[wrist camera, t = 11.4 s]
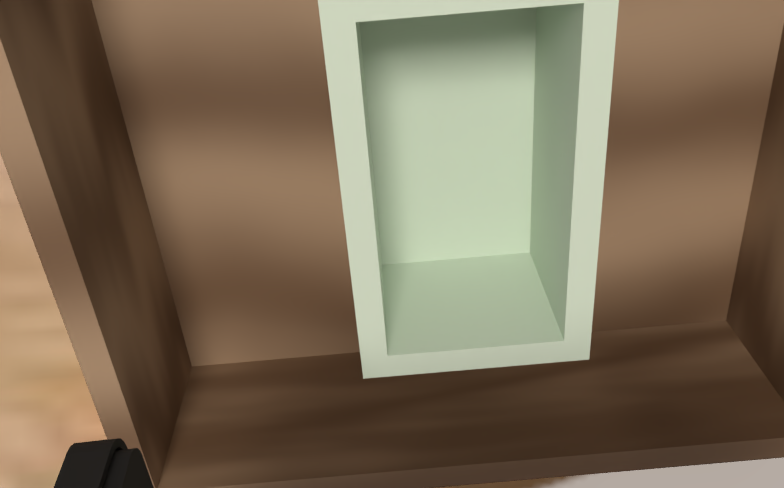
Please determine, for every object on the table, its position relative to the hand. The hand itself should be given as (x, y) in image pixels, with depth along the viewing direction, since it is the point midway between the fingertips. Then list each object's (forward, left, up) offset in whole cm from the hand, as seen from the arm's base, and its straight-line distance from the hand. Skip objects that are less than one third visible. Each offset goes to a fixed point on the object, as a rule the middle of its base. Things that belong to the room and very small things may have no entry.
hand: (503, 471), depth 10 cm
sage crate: (0, +1, -13) cm, 13 cm away
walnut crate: (0, +1, -14) cm, 14 cm away
